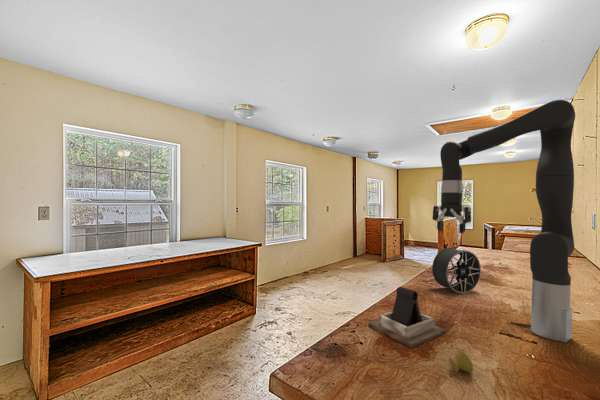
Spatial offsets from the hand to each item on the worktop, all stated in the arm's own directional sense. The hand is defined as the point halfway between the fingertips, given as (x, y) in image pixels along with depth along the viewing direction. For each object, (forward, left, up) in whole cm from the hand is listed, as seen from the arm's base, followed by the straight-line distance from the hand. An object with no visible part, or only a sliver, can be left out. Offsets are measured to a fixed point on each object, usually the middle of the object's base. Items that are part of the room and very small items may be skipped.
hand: (450, 232), depth 112 cm
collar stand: (-4, +33, -30) cm, 45 cm away
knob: (-25, +41, -30) cm, 57 cm away
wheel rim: (+10, -25, -30) cm, 41 cm away
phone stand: (-4, +33, -29) cm, 44 cm away
